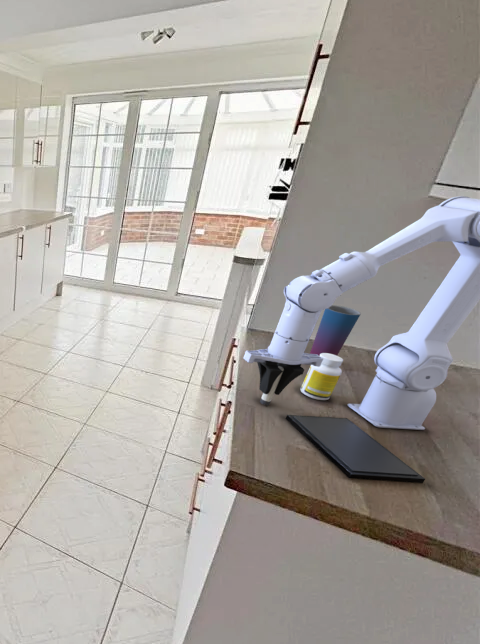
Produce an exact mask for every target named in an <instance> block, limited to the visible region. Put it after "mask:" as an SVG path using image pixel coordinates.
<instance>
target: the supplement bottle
mask: <svg viewBox="0 0 480 644" xmlns="http://www.w3.org/2000/svg"><path fill="white" fill-rule="evenodd" d="M320 357H322V358H323V361H322V363H321V365H320V367H316V366H313V365H309V369H308V371H307V373H306V374H305V378H304V379H303V381H302V383H301V386H300V392H301V393H302V394H303V395H305V396H306V397H309V398H311V399H314V400H318V401H327V400H329V399H330V398H331V396H332V394H333V392H334V390H335V388H336V386H337V384H338V381H339V379H340V377H341V375H342V372H343V371H342V368H341V366H342V364H343V362H344V359H343V358H342V357H341V356H338V355H337V356H336V355H333V354H329V353H321V354H320Z"/></svg>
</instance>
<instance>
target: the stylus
mask: <svg viewBox="0 0 480 644" xmlns="http://www.w3.org/2000/svg"><path fill="white" fill-rule="evenodd" d="M278 368H280V369H281V370H282V371H283V370H284V368H282V367H280V366H278ZM282 373H283V372H282ZM282 373H281V374H280V375H279V376H278V377H277V379H276V380H275V382H274V383H273V386H272V388H271V390H270V392H269V393H268V394H264V393H263V392H262V395H261V397H260V400H259V403H260V404H261V405H264V406H270V404H271V401H272V400H273V397H274V395H275V393H274V392H275V390H276V387H277V385H278V382H279V380H280V378H281V375H282Z"/></svg>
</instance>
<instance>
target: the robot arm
mask: <svg viewBox="0 0 480 644" xmlns="http://www.w3.org/2000/svg"><path fill="white" fill-rule="evenodd" d="M436 242H438V243H439V242H442V243H443V242H444V243H445V242H449V243H450V242H452V244H453V245H454V247H455V248H456V250H457V252H458V253H459V257H458V258H457V260H456V261H455V263H454V264H453V265H452V267H451V269H450V270H449V271H448V273H447V274H446V276H445V277H444V279H443V280H442V282H441V283H440V285H439V286H438V288H437V289H436V290H435V292H434V293H433V295H432V296H431V298H430V299H429V301H428V302H427V304H426V305H425V307H424V308H423V310H422V311H421V312H420V314H419V315H418V316H417V318H416V320H415V321H414V323H413V325H412V326H411V327H410V328H409V330H408V331H407V332H403V333H399V334H396V335H393V336H392V337H391V339H390V340H389V341H388V342H387V343H386V344H385V345H383V346H382V347H380V348H379V349H378V350H377V351H376V352H375V355H374V357H373V358H374V359H373V361H374V364H375V365H376V366H377V367H376V369H375V372H376V374H375V376H374V378H373V379H372V382H371V384H370V385H369V388H368V389H367V391H366V394H365V395H364V397H363V399H362V401H361V402H360V403H347V404H346V405H347V407H348V408H350V409H351V410H352V411H354V412H356V413H357V414H358V415H359V416H361V417H362V418H364V419H365V420H366V421H368V422H369V423H370V424H372V425H373V426H374V427H376V428H384V429H397V430H399V429H400V430H415V431H416V430H418V431H425V429H426V427H425V426H423V424H424V422H425V420H426V419H427V417H428V415H429V414H430V412H431V411H432V409H433V407H434V406H435V404H436V402H437V393H436V389H435V388H437V387H439V386H440V385H442V384H443V383H444V382H445V380H446V379H447V377H448V372H449V371H448V370H449V367H450V366H451V364H452V363H453V362H454V358H453V355H452V353H451V351H450V349H449V346H448V344H449V342H450V341H451V340H452V338H453V337H454V336H455V334H456V333H457V332H458V330H459V329H460V327H461V326H462V325H463V324H464V322H465V321H466V319H467V318H468V317H469V315H470V314H471V312H472V311H473V310H474V309H475V308H476V306H477V304H478V303H479V302H480V198H474V197H470V196H465V195H458V196H453V197H450V198H447V199H445V200H444V201H442V202H440V204H438V205H435V206H433V207H431V208H429V209H427V210H426V211H425V213H424V214H423V216H422V217H420V218H419V219H417V220H416V221H414V222H413V223H411V224H409V225H407V226H406V227H404V228H403V229H401V230H400V231H398V232H396V233H394V234H393V235H391V236H390V237H388V238H386V239H384V240H383V241H381V242H379V243H378V244H376V245H375V246H373V247H372V248H370V249H367V250H366V251H352V252H350V253H348V252H345V253H342V254H341V255H339V256H338V258H339V259H337V260H335V261H333V262H331V263H330V264H328V265H326V266H324V267H322V268H320V269H316V270H314V271H312V272H311V274H309V275H308V274H307V275H306V274H305V275H300V276H298V277H296V278H294V279H292V280H291V281H290V282H289V284H288V285H285V286H284V288H283V295H284V297H285V303H284V307H283V310H282V312H281V315H280V318H279V321H278V323H277V325H276V327H275V331H274V333H273V336H272V338H271V342H270V343H269V345H268V346H267V348H263V349H262V348H261V349H255V350H254V349H253V350H245V351H244V355H243V360H244V361H245V362H246V363H248V364H254V363H257V368H258V372H259V389H258V390H259V391H260V392H262V394H263V393H264V394H268V393H269V392H270V390H271V388H272V386H273V383H274V382H275V380H276V379H277V377H278V376H279V375H280V374H281V373H282V372H283V373H282V375H281V378H280V380H279V382H278V385H277V387H276V390H275V392H274V395H275V396H280V394H281V393H282V392H283V390H284V389H286V387H287V386H288V385H289V384H290V383H291V382H292V381H294V380H295V379H296V378H298V377H299V376H302V375H304V372H305V369H304V367H302V365H306V366H311V365H313V366H316V367H320V365H321V363H322V361H323V358H322V357H320V356H319V355H317V354H310V353H307V352H305V351H306V349H307V346H308V344H309V342H310V339H311V337H312V334H313V332H314V330H315V327H316V325H317V323H318V320H319V318H320V315H321V314H322V311H325V309H327V308H329V307H330V306H331V305H334V304H335V302H336V300H337V298H339V297H341V296H342V294H344V293H346V292H348V291H349V290H351V289H354V288H355V287H358V286H359V285H361V284H363V283H365V282H367V281H369V280H371V279H373V278H375V277H376V276H377V274H378V271H379V269H380V267H383V266H384V265H386V264H389V263H391V262H393V261H395V260H397V259H399V258H402V257H404V256H406V255H408V254H410V253H413V252H415V251H416V250H417V251H418V250H419V249H422V248H423V247H426V246H427V245H430V244H432V243H436ZM278 366H280V367H282V368H284V370H283V371H282V370H281V369H280V368H278Z"/></svg>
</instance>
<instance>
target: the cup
mask: <svg viewBox="0 0 480 644" xmlns="http://www.w3.org/2000/svg"><path fill="white" fill-rule="evenodd" d="M361 314H362V313H361V312H360V311H359V310H357V309H354V308H351V307H348V306H343V305H337V304H332V305H331V306H330V307H329V308H327V309H324V310H323V314H322V317H321V320H320V323H319V325H318V328H317V331H316V334H315V337H314V340H313V343H312V345H311V349H310V352H309V354H317V355H319V356H320V354H321V353H329V354H333V355H336V356H338V355H339V354H340V351H341V350H342V348H343V346H344V345H345V343H346V341H347V339H348V338H349V335H351V332H352V331H353V328H354V327H355V325H356V324H357V322H358V320H359V318H360V317H361Z"/></svg>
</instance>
